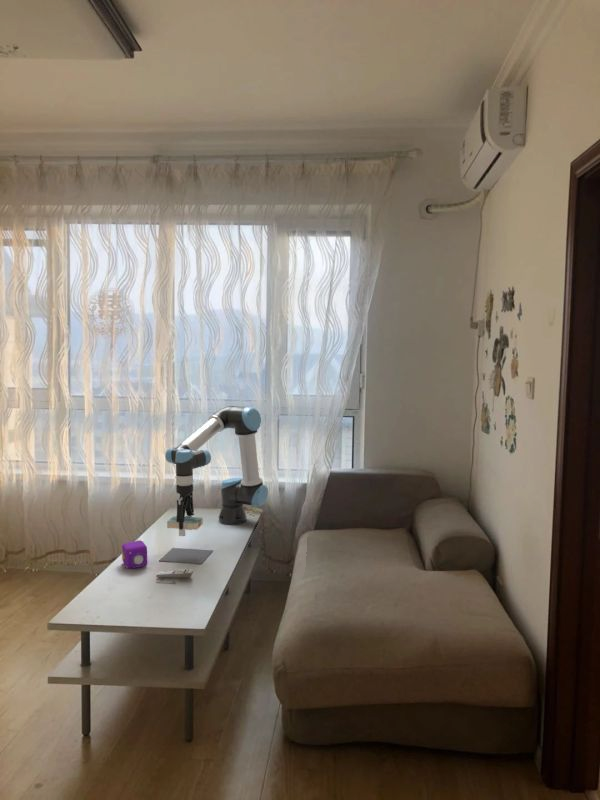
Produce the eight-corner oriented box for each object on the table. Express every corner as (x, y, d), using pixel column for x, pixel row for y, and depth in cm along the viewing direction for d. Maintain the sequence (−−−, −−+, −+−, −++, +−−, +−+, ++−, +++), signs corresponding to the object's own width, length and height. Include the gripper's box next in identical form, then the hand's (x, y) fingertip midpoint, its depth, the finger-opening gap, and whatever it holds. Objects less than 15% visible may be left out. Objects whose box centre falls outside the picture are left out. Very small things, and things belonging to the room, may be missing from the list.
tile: (173, 516, 271) (202, 517, 268) (174, 522, 271) (202, 523, 269) (167, 521, 263) (196, 523, 260) (167, 527, 263) (196, 529, 261)
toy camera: (131, 573, 248) (130, 551, 247) (118, 564, 259) (117, 542, 258) (154, 567, 255) (153, 545, 254) (141, 558, 266) (140, 537, 264)
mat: (172, 548, 277) (172, 547, 277) (212, 551, 274) (212, 550, 274) (158, 561, 261) (158, 560, 261) (201, 564, 258) (201, 563, 258)
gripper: (185, 478, 275) (186, 524, 277) (167, 489, 254) (169, 539, 257) (200, 478, 273) (201, 525, 276) (184, 490, 253) (185, 540, 255)
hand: (185, 532), depth 266 cm, fingers closed on tile, 8 cm apart
